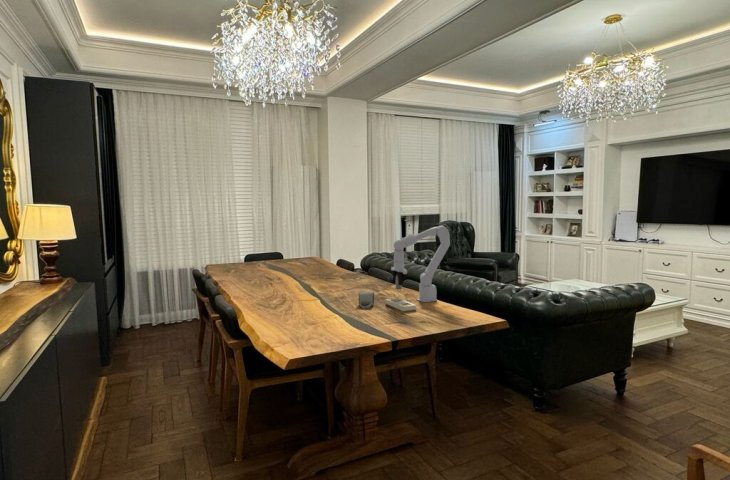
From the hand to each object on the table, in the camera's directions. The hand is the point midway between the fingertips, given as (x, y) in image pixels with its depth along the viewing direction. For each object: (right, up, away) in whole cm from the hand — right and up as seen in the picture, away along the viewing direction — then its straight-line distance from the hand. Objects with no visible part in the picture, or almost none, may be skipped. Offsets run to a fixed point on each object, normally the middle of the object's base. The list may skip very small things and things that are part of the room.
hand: (398, 284), depth 242 cm
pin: (0, -2, 0) cm, 2 cm away
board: (0, -11, -16) cm, 19 cm away
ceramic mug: (-18, -11, -12) cm, 25 cm away
